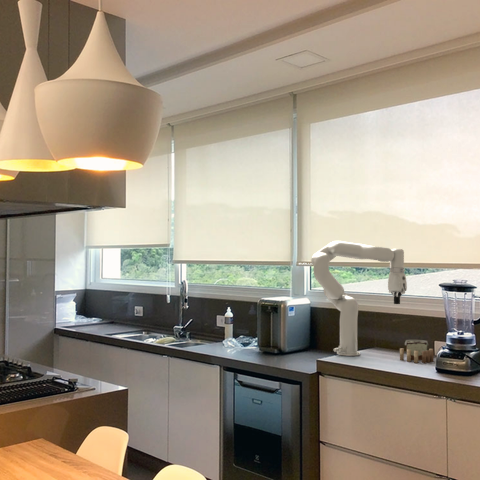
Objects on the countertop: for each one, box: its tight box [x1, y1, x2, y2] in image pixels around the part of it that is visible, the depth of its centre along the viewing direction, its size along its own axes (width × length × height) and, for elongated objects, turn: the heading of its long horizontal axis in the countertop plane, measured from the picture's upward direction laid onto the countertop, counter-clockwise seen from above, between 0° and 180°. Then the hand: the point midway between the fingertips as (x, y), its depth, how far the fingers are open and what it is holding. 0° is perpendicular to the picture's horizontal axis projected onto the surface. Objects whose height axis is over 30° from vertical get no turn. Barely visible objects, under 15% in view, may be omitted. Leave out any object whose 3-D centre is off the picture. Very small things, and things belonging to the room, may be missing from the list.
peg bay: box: [399, 347, 435, 364], centre depth 287 cm, size 14×14×6 cm
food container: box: [404, 339, 429, 362], centre depth 290 cm, size 12×6×10 cm, turn 95°
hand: (396, 303), depth 308 cm, fingers closed
